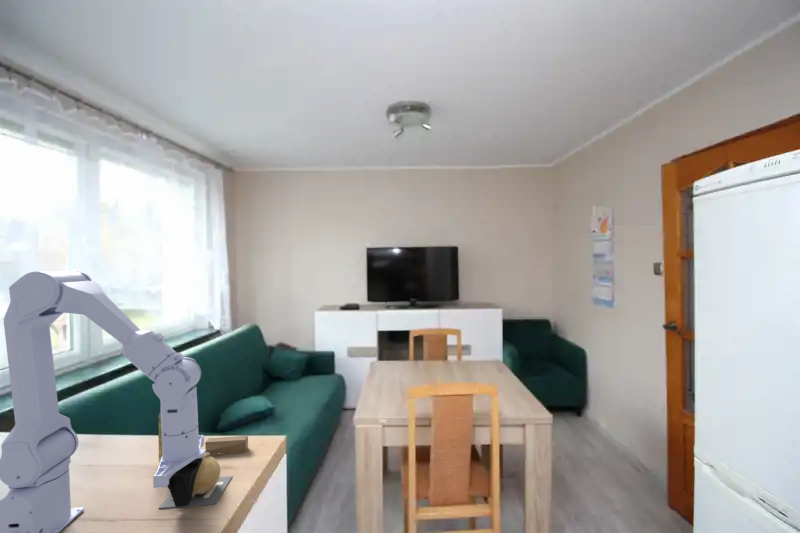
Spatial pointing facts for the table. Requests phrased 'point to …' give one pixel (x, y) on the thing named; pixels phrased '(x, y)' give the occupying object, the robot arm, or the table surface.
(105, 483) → the table surface
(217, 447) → the rail
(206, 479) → the onion
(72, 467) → the table surface
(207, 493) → the card
